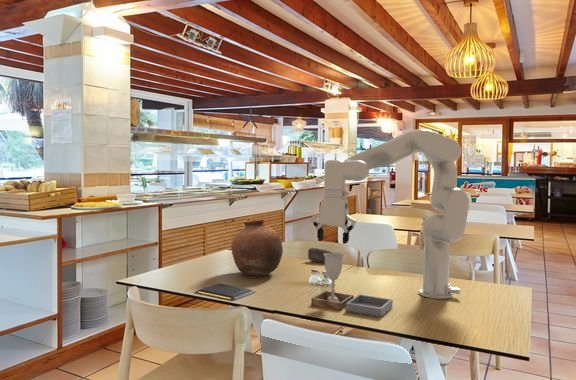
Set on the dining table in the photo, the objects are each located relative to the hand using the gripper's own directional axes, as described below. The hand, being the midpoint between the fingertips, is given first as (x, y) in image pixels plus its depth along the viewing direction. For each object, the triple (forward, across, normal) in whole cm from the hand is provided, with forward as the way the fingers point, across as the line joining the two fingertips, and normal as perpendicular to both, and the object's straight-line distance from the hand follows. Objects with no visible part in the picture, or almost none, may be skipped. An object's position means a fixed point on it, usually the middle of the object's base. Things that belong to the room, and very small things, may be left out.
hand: (332, 241), depth 173 cm
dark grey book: (+24, +41, +8) cm, 49 cm away
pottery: (+23, +46, -23) cm, 57 cm away
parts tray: (+22, -15, -1) cm, 27 cm away
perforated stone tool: (+23, +31, -61) cm, 72 cm away
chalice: (+23, -1, -1) cm, 23 cm away
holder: (+23, -1, -1) cm, 23 cm away
